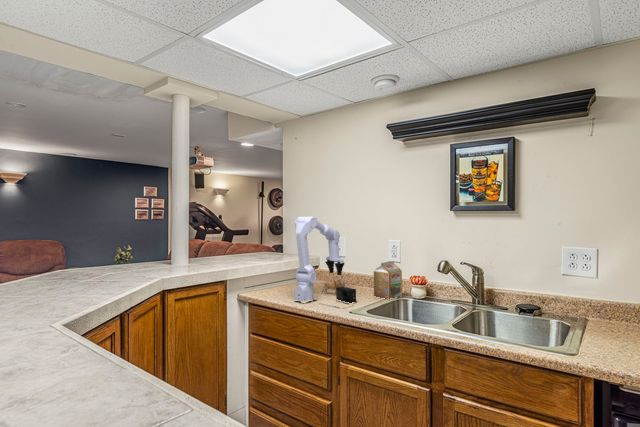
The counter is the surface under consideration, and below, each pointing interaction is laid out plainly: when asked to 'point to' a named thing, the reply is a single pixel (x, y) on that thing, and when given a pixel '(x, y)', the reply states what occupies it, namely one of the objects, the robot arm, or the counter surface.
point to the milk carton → (388, 281)
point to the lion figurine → (334, 285)
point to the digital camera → (346, 294)
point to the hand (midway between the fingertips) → (335, 273)
